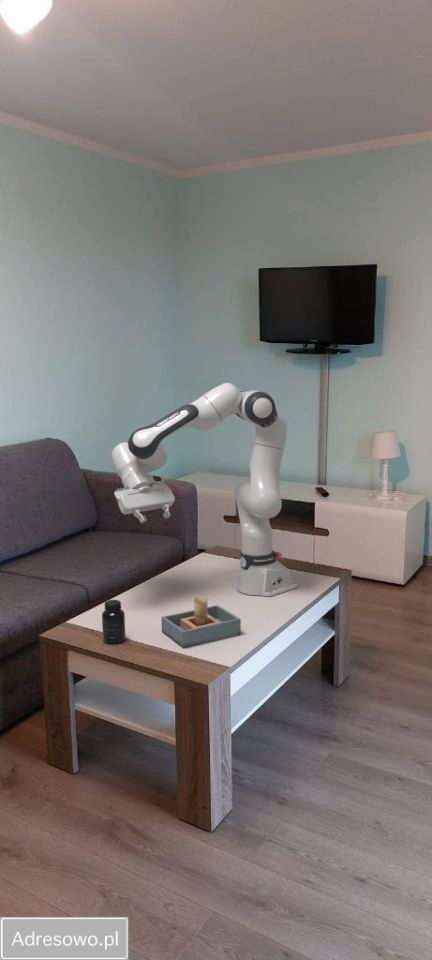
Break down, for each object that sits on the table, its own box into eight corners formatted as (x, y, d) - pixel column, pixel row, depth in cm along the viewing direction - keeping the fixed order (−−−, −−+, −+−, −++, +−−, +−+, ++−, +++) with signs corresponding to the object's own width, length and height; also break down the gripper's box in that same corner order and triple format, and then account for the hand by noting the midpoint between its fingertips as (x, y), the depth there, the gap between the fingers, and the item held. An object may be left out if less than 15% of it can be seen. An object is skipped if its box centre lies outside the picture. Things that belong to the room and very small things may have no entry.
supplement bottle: (105, 635, 222) (103, 598, 220) (127, 635, 222) (126, 598, 220) (100, 644, 215) (99, 606, 213) (123, 644, 215) (122, 606, 213)
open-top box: (217, 619, 234) (217, 604, 233) (240, 634, 222) (240, 619, 221) (161, 632, 224) (161, 616, 223) (182, 648, 213) (182, 632, 212)
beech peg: (203, 626, 226) (203, 596, 224) (210, 631, 222) (209, 600, 221) (192, 629, 224) (191, 598, 222) (198, 633, 221) (198, 602, 219)
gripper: (115, 483, 234) (133, 518, 228) (166, 476, 247) (184, 509, 241) (108, 495, 238) (125, 529, 232) (159, 487, 251) (176, 519, 245)
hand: (156, 519), depth 237 cm, fingers open, 8 cm apart
